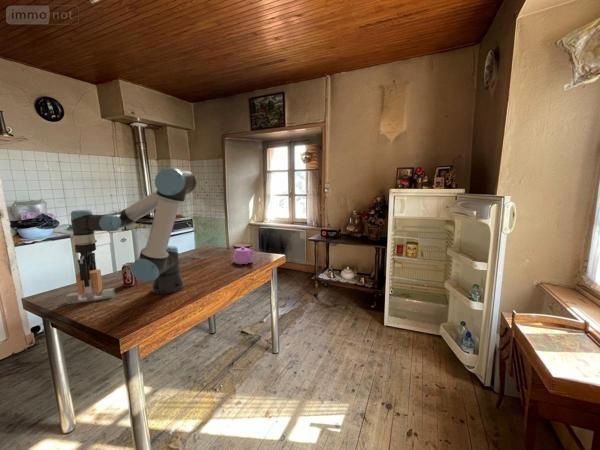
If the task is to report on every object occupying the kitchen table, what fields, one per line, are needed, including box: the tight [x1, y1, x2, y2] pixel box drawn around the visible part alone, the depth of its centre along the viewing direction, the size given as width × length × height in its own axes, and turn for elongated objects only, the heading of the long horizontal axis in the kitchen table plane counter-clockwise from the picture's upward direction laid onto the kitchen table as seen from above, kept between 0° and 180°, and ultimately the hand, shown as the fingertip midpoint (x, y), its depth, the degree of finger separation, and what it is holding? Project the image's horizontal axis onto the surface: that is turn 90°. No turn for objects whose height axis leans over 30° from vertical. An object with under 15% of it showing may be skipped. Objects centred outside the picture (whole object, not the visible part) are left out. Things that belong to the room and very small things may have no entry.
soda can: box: [121, 262, 139, 287], centre depth 142 cm, size 7×7×12 cm
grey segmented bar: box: [65, 287, 116, 305], centre depth 124 cm, size 18×4×4 cm, turn 112°
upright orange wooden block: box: [75, 269, 103, 296], centre depth 122 cm, size 8×5×10 cm, turn 112°
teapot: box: [232, 246, 255, 265], centre depth 182 cm, size 20×13×12 cm, turn 55°
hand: (90, 290), depth 123 cm, fingers closed on upright orange wooden block, 5 cm apart
